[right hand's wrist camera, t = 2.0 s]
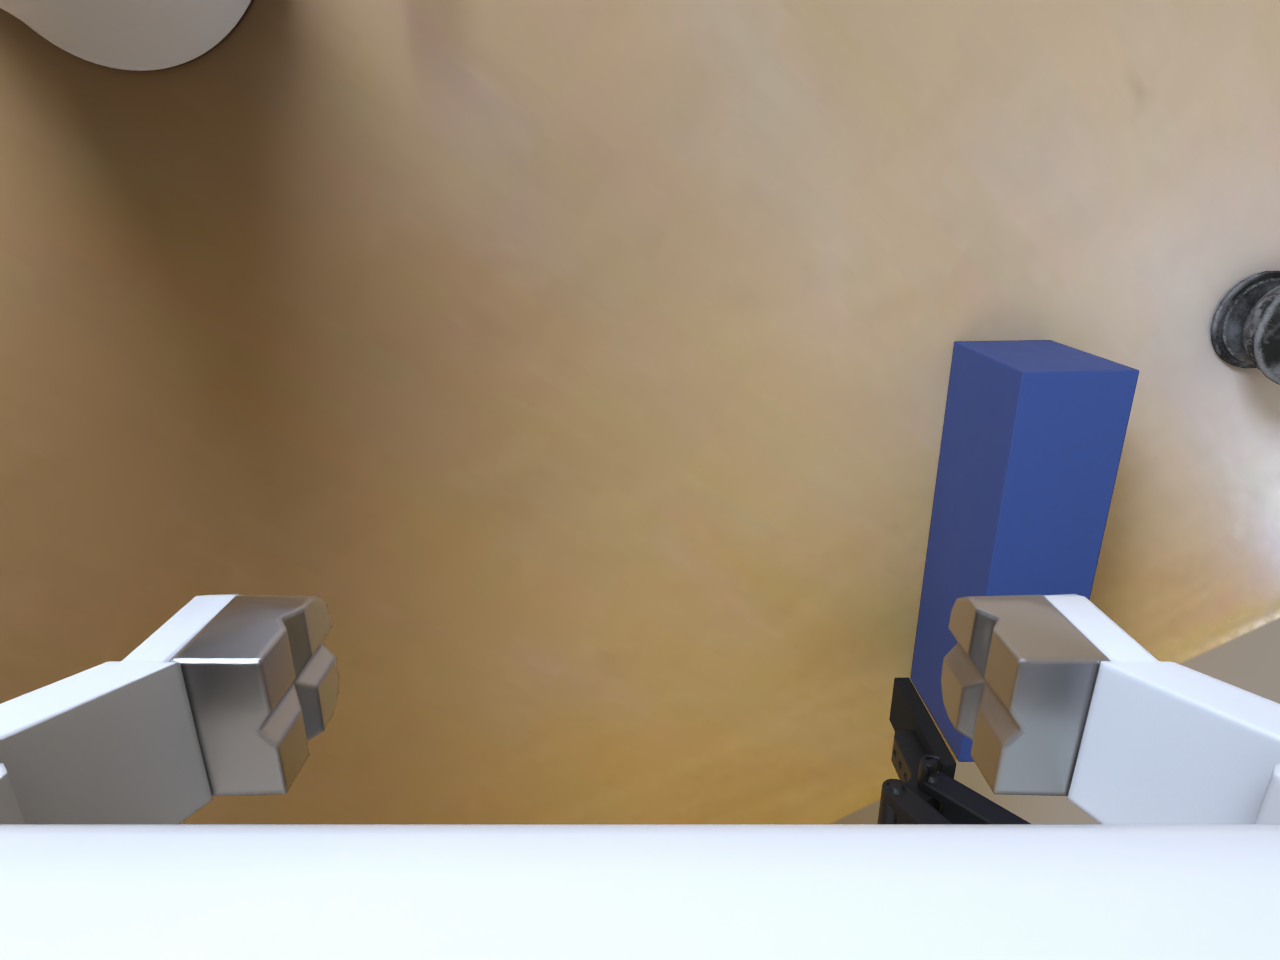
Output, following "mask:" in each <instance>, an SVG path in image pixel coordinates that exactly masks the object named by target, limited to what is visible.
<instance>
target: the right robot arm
mask: <svg viewBox="0 0 1280 960" xmlns="http://www.w3.org/2000/svg"><path fill="white" fill-rule="evenodd" d="M250 2H251V0H0V8H1V9H3V10H5V11H6V12H8V13H10V14H12V15H13V16H15V17H16V18H18V19H20V20H21V21H23V22H24V23H25V24H27V25H28V26H29V27H30V28H32V29H33V30H34V31H35V32H37V33H38V34H39V35H41V36H42V37H43V38H45V39H46V40H48V41H50V42H51V43H53V44H54V45H56V46H58V47H59V48H61V49H63V50H65V51H67V52H69V53H71V54H73V55H75V56H77V57H79V58H82V59H84V60H87V61H89V62H92V63H95V64H98V65H102V66H106V67H110V68H116V69H122V70H131V71H149V70H159V69H165V68H169V67H174V66H177V65H180V64H183V63H186V62H188V61H191V60H193V59H195V58H197V57H199V56H201V55H202V54H204V53H206V52H207V51H209V50H210V49H212V48H213V47H214V46H215V45H217V44H218V43H219V42H220V41H221V40H223V39H224V38H225V37H226V36H227V35H228V34H229V33H230V31H231V30H232V29H233V28H234V27H235V26H236V24H237V23H238V22H239V20H240V19H241V17H242V16H243V14H244V13H245V11H246V9H247V8H248V6H249V4H250ZM331 628H332V627H331V622H330V617H329V612H328V607H327V604H326V603H325V602H324V601H323V599H322V598H321V597H320V596H273V595H240V594H224V595H201V596H195V597H194V598H193V599H192V600H191V601H190V602H189V603H187V604H186V605H185V606H184V607H183V608H182V609H181V610H179V611H178V612H177V613H176V614H175V615H174V616H173V617H171V618H170V619H169V620H168V621H167V622H166V623H165V624H163V625H162V626H161V627H160V628H159V629H158V630H157V631H155V632H154V633H153V634H152V635H151V636H150V637H149V638H147V639H146V640H145V641H144V642H143V643H142V644H141V645H139V646H138V647H137V648H136V649H135V650H134V651H133V652H131V653H130V654H129V655H128V656H127V657H126V658H124V659H123V660H122V661H110V662H105V663H103V664H100V665H98V666H95V667H93V668H90V669H88V670H85V671H83V672H80V673H78V674H75V675H72V676H70V677H67V678H65V679H62V680H60V681H57V682H55V683H52V684H50V685H47V686H44V687H42V688H39V689H37V690H34V691H32V692H29V693H27V694H24V695H22V696H19V697H17V698H14V699H11V700H9V701H6V702H4V703H1V704H0V960H1280V704H1278V703H1276V702H1273V701H1271V700H1268V699H1266V698H1263V697H1261V696H1258V695H1256V694H1253V693H1251V692H1248V691H1246V690H1243V689H1240V688H1238V687H1235V686H1233V685H1230V684H1228V683H1225V682H1223V681H1220V680H1218V679H1215V678H1212V677H1210V676H1207V675H1205V674H1202V673H1200V672H1197V671H1195V670H1192V669H1190V668H1187V667H1185V666H1182V665H1180V664H1177V663H1175V662H1171V661H1158V660H1157V659H1156V658H1154V657H1153V656H1152V655H1151V654H1150V653H1149V652H1148V651H1146V650H1145V649H1144V648H1143V647H1142V646H1141V645H1140V644H1138V643H1137V642H1136V641H1135V640H1134V639H1133V638H1132V637H1130V636H1129V635H1128V634H1127V633H1126V632H1125V631H1124V630H1123V629H1121V628H1120V627H1119V626H1118V625H1117V624H1116V623H1115V622H1113V621H1112V620H1111V619H1110V618H1109V617H1108V616H1107V615H1105V614H1104V613H1103V612H1102V611H1101V610H1100V609H1099V608H1097V607H1096V606H1095V605H1094V604H1093V603H1092V602H1091V601H1089V600H1088V599H1087V598H1086V597H1084V596H1080V595H1077V594H1061V595H1009V596H967V597H961V598H957V599H956V601H955V604H954V606H953V608H952V610H951V616H950V622H949V629H950V631H951V632H952V634H953V635H954V637H955V638H956V640H957V641H958V643H957V644H956V645H955V646H954V647H953V648H952V649H951V650H950V651H949V653H948V654H947V655H946V656H945V657H944V659H943V667H942V676H941V686H942V696H943V703H944V706H945V709H946V712H947V715H948V717H949V719H950V721H951V723H952V724H953V726H954V728H955V730H956V731H958V732H959V733H961V734H963V735H964V736H966V737H967V738H969V739H971V740H972V741H973V743H972V749H971V757H972V758H973V760H974V761H975V763H976V765H977V766H978V768H979V770H980V771H981V773H982V775H983V776H984V778H985V779H986V781H987V783H988V784H989V786H990V788H991V789H992V791H993V793H994V794H1013V795H1049V796H1068V798H1067V799H1068V800H1069V801H1070V802H1072V803H1073V804H1075V805H1076V806H1077V807H1079V808H1080V809H1081V810H1083V811H1084V812H1085V813H1087V814H1088V815H1089V816H1091V817H1092V818H1094V819H1095V820H1096V821H1098V822H1099V823H1100V824H180V823H181V822H183V821H184V820H185V819H187V818H188V817H189V816H191V815H192V814H194V813H195V812H196V811H198V810H199V809H200V808H202V807H203V806H204V805H206V804H207V803H208V802H210V801H211V800H212V796H231V795H266V794H286V793H287V791H288V790H289V788H290V786H291V785H292V783H293V781H294V780H295V778H296V776H297V775H298V773H299V771H300V770H301V768H302V766H303V765H304V763H305V761H306V760H307V758H308V757H309V749H308V743H307V741H308V740H309V739H311V738H313V737H314V736H316V735H317V734H319V733H321V732H322V731H324V730H325V728H326V726H327V724H328V723H329V721H330V719H331V717H332V715H333V713H334V708H335V704H336V700H337V696H338V687H339V673H338V666H337V659H336V657H335V656H334V655H333V654H332V652H331V651H330V650H329V649H328V648H327V647H326V646H325V645H324V644H323V643H322V641H323V640H324V638H325V637H326V635H327V634H328V632H329V631H330V629H331Z"/></svg>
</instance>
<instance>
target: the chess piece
mask: <svg viewBox="0 0 1280 960" xmlns="http://www.w3.org/2000/svg"><path fill="white" fill-rule="evenodd" d="M1211 334H1212V342H1213V345H1214V348H1215V351H1216V352H1217V353H1218V355H1219V356H1220V357H1221V358H1222V359H1223V360H1224V361H1226V362H1228V363H1229V364H1231V365H1234V366H1238V367H1242V368H1258V369H1260V370H1261V371H1262V372H1263V374H1264V375H1265V376H1266V377H1267V378H1268V379H1270V380H1272V381H1273V382H1275V383H1276V384H1279V385H1280V271H1265V272H1262V273H1259V274H1255V275H1252V276H1250V277H1249V278H1247V279H1245V280H1243V281H1241V282H1240V283H1239V284H1238V285H1236V286H1235V287H1234V288H1233V289H1232V290H1231V291H1229V293H1228V294H1227V295H1226V296H1225V298H1224V299H1223V300H1222V302H1221V303H1220V305H1219V307H1218V309H1217V311H1216V313H1215V315H1214V319H1213V323H1212V327H1211Z"/></svg>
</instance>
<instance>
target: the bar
mask: <svg viewBox="0 0 1280 960" xmlns="http://www.w3.org/2000/svg"><path fill="white" fill-rule="evenodd" d="M1138 374H1139V370H1136V369H1133V368H1130V367H1127V366H1125V365H1122V364H1119V363H1116V362H1113V361H1110V360H1107V359H1104V358H1101V357H1098V356H1095V355H1092V354H1089V353H1086V352H1083V351H1081V350H1078V349H1075V348H1072V347H1069V346H1066V345H1063V344H1060V343H1057V342H1054V341H1051V340H1030V341H967V342H954V349H953V357H952V364H951V372H950V380H949V387H948V395H947V403H946V410H945V418H944V426H943V433H942V441H941V449H940V456H939V464H938V472H937V479H936V487H935V495H934V502H933V510H932V518H931V525H930V533H929V541H928V548H927V556H926V564H925V571H924V579H923V586H922V594H921V602H920V609H919V617H918V625H917V632H916V640H915V648H914V655H913V663H912V671H911V678H910V679H911V680H912V682H913V684H914V686H915V687H916V689H917V691H918V692H919V694H920V696H921V698H922V699H923V701H924V703H925V704H926V706H927V708H928V710H929V711H930V713H931V715H932V716H933V718H934V720H935V722H936V723H937V725H938V727H939V728H940V730H941V732H942V734H943V735H944V737H945V739H946V740H947V742H948V744H949V746H950V747H951V749H952V751H953V752H954V754H955V756H956V758H957V759H958V761H959V762H974V760H973V758H972V757H971V749H972V743H973V741H972V740H971V739H969V738H967V737H966V736H964V735H963V734H961V733H959V732H958V731H956V730H955V728H954V726H953V724H952V723H951V721H950V719H949V717H948V715H947V712H946V709H945V706H944V703H943V696H942V686H941V676H942V667H943V659H944V657H945V656H946V655H947V654H948V653H949V651H950V650H951V649H952V648H953V647H954V646H955V645H956V644H957V643H958V641H957V640H956V638H955V637H954V635H953V634H952V632H951V631H950V629H949V622H950V616H951V610H952V608H953V606H954V604H955V601H956V599H957V598H961V597H967V596H1009V595H1061V594H1077V595H1080V596H1084V597H1086V598H1087V599H1088V600H1089V599H1090V594H1091V590H1092V585H1093V581H1094V576H1095V571H1096V567H1097V562H1098V558H1099V553H1100V548H1101V544H1102V539H1103V535H1104V530H1105V526H1106V521H1107V516H1108V512H1109V507H1110V503H1111V498H1112V493H1113V489H1114V484H1115V480H1116V475H1117V471H1118V466H1119V461H1120V457H1121V452H1122V448H1123V443H1124V438H1125V434H1126V429H1127V425H1128V420H1129V416H1130V411H1131V406H1132V402H1133V397H1134V393H1135V388H1136V383H1137V379H1138Z"/></svg>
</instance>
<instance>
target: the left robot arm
mask: <svg viewBox="0 0 1280 960" xmlns="http://www.w3.org/2000/svg"><path fill="white" fill-rule="evenodd" d="M890 722H891V724H892V726H893V728H894V730H895V736H894V744H893V752H892V759H891V760H892V763H893V765H894V767H895V769H896V772H897V774H898V776H899V778H900V780H898V779H888V780H886V781H885V782H883V785H882V792H881V800H880V808H879V816H878V824H1030V823H1029V822H1027V821H1025V820H1023V819H1022V818H1020V817H1018V816H1016V815H1015V814H1013V813H1011V812H1009V811H1008V810H1006V809H1004V808H1003V807H1001V806H999V805H997V804H996V803H994V802H992V801H990V800H989V799H987V798H985V797H984V796H982V795H980V794H978V793H977V792H975V791H973V790H971V789H970V788H968V787H966V786H965V785H963V784H961V783H959V782H958V781H956V780H954V773H955V768H956V762H955V760H954V759H953V757H952V755H951V753H950V751H949V750H948V748H947V746H946V744H945V742H944V740H943V739H942V737H941V735H940V733H939V731H938V730H937V728H936V726H935V724H934V722H933V721H932V719H931V717H930V715H929V713H928V712H927V710H926V708H925V706H924V704H923V702H922V701H921V699H920V697H919V695H918V693H917V692H916V690H915V688H914V686H913V684H912V683H911V681H910V679H909V678H895V680H894V688H893V696H892V704H891V712H890Z"/></svg>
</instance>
